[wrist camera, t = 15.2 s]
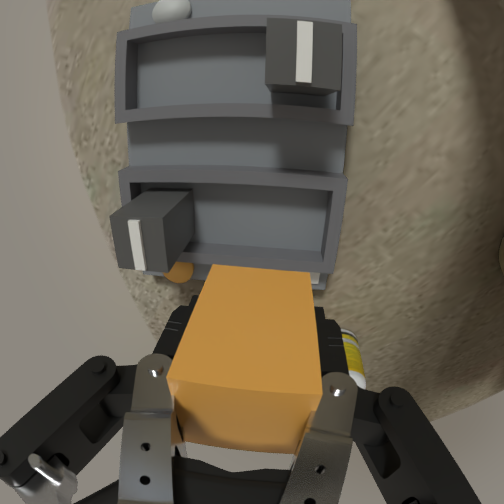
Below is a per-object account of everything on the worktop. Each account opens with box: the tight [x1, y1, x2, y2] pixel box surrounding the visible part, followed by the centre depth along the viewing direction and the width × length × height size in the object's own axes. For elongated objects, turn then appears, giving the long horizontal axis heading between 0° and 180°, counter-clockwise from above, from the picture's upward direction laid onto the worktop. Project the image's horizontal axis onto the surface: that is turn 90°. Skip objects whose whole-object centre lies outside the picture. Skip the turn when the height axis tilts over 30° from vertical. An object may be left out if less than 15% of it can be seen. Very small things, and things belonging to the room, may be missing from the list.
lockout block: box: [166, 264, 323, 454], centre depth 10 cm, size 4×4×6 cm
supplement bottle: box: [341, 329, 366, 389], centre depth 28 cm, size 5×5×10 cm
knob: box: [265, 18, 342, 96], centre depth 15 cm, size 4×4×7 cm
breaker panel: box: [115, 0, 357, 290], centre depth 22 cm, size 18×26×4 cm
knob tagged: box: [110, 188, 195, 273], centre depth 22 cm, size 4×4×7 cm
